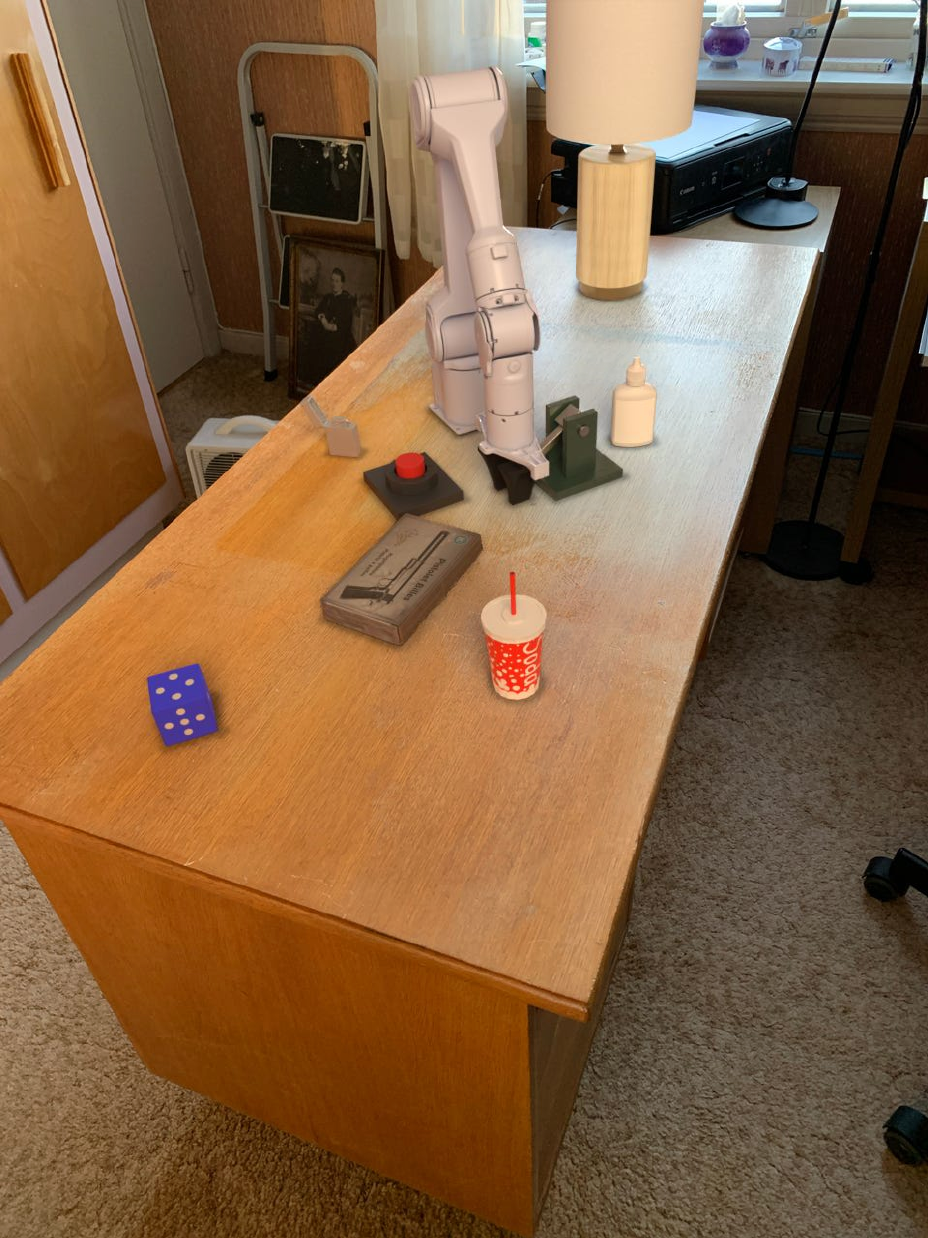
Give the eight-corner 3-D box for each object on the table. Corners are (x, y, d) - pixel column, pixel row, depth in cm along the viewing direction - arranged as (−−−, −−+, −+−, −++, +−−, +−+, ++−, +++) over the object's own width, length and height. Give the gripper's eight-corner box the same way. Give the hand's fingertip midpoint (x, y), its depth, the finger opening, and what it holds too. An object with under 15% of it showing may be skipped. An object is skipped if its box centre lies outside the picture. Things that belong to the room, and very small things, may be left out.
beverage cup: (501, 713, 88) (495, 603, 78) (475, 673, 92) (467, 564, 82) (558, 692, 89) (559, 582, 80) (529, 653, 93) (527, 544, 84)
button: (392, 469, 116) (390, 457, 115) (417, 461, 117) (416, 449, 116) (404, 482, 113) (402, 470, 112) (430, 473, 115) (428, 462, 113)
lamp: (586, 255, 173) (595, -31, 143) (698, 276, 162) (732, -28, 133) (521, 298, 160) (515, -6, 130) (638, 325, 149) (661, 0, 119)
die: (218, 732, 88) (205, 696, 85) (166, 747, 87) (150, 712, 84) (211, 697, 92) (198, 661, 88) (161, 711, 91) (146, 676, 87)
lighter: (361, 450, 125) (353, 397, 120) (357, 457, 124) (348, 404, 119) (314, 445, 127) (303, 393, 122) (309, 452, 126) (298, 400, 120)
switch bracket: (555, 501, 113) (556, 435, 107) (519, 468, 119) (517, 404, 113) (622, 476, 116) (626, 411, 110) (583, 445, 123) (585, 382, 116)
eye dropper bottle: (645, 453, 120) (652, 369, 112) (605, 444, 122) (609, 361, 114) (656, 437, 123) (664, 353, 115) (617, 429, 125) (622, 346, 117)
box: (485, 553, 105) (483, 531, 103) (402, 648, 95) (398, 626, 93) (408, 531, 110) (404, 510, 108) (321, 619, 99) (315, 598, 97)
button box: (364, 480, 119) (361, 459, 117) (425, 460, 122) (423, 439, 120) (399, 522, 112) (396, 501, 110) (464, 499, 115) (462, 478, 113)
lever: (519, 497, 114) (506, 483, 112) (506, 485, 116) (494, 471, 114) (592, 426, 113) (581, 410, 111) (577, 415, 115) (566, 399, 113)
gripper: (450, 389, 111) (458, 484, 120) (510, 440, 101) (514, 539, 110) (501, 373, 113) (505, 468, 122) (564, 422, 103) (563, 521, 112)
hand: (512, 500), depth 116 cm, fingers closed on lever, 3 cm apart
